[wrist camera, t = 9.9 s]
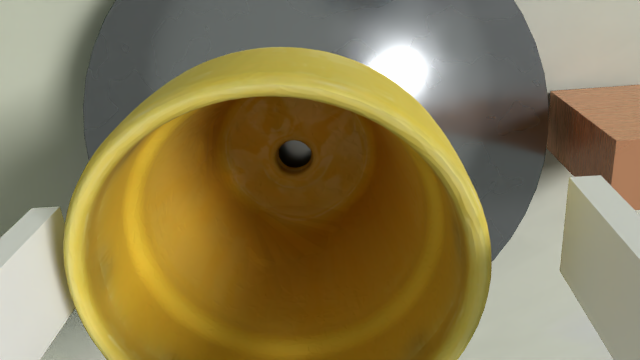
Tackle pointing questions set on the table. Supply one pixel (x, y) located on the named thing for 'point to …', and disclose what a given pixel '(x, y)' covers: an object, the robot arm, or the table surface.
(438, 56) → the grey round piece
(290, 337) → the plant pot
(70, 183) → the table surface
